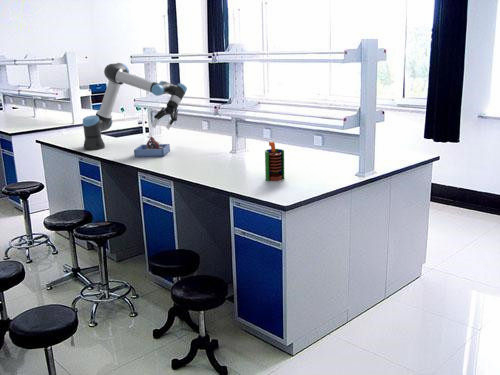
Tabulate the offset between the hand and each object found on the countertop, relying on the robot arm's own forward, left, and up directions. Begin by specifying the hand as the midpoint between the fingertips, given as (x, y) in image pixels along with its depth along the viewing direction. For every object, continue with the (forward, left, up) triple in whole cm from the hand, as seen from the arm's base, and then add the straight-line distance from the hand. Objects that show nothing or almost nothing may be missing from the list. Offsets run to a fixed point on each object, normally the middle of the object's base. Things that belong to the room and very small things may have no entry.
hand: (160, 127), depth 352 cm
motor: (+81, -78, -17) cm, 114 cm away
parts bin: (-5, -8, -17) cm, 19 cm away
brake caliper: (-4, -7, -16) cm, 18 cm away
